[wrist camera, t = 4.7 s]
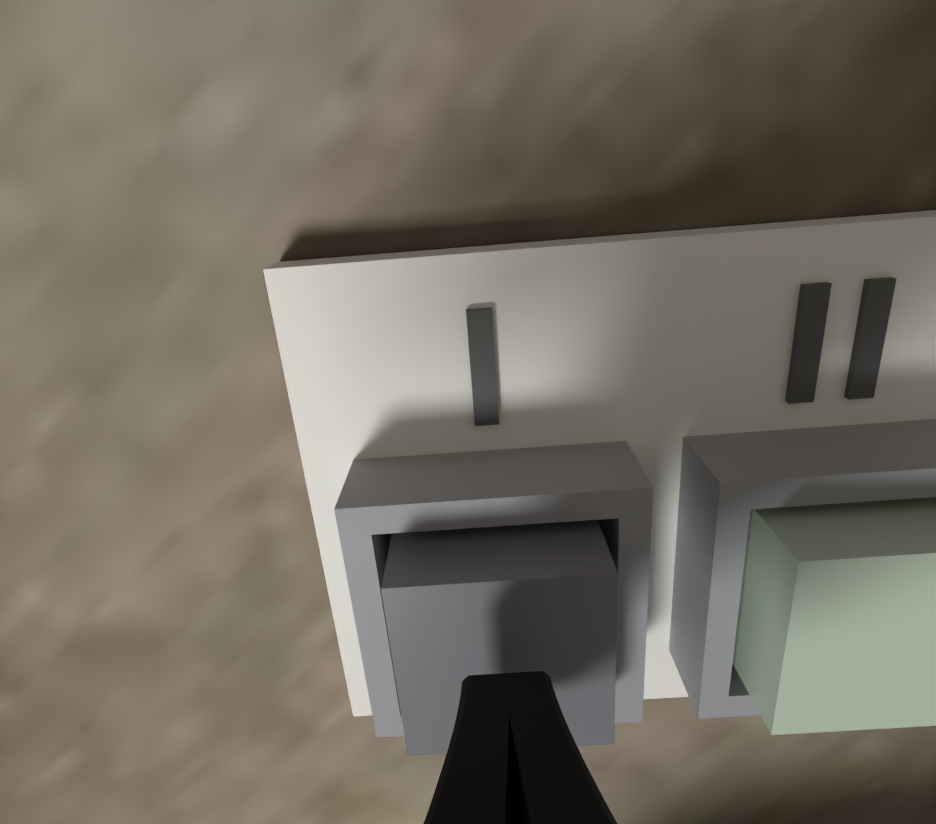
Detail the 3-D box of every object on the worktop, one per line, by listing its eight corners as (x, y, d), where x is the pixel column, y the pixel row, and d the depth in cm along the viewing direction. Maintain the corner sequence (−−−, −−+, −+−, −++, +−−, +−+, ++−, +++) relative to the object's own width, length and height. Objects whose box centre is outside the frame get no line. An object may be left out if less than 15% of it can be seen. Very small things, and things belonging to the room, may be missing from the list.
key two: (911, 645, 13) (983, 722, 11) (728, 655, 13) (771, 734, 11) (953, 486, 12) (1044, 545, 10) (746, 499, 12) (799, 561, 10)
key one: (593, 664, 13) (614, 744, 12) (415, 675, 13) (407, 756, 12) (593, 510, 12) (618, 573, 10) (394, 524, 12) (381, 588, 10)
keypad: (1177, 636, 16) (1328, 735, 13) (359, 685, 16) (338, 790, 14) (1396, 173, 12) (1689, 174, 9) (278, 261, 12) (223, 289, 9)
